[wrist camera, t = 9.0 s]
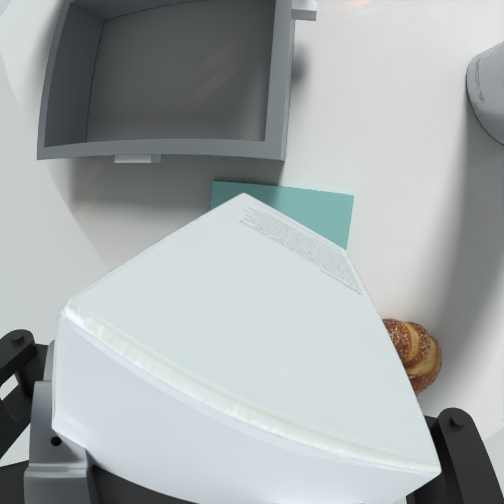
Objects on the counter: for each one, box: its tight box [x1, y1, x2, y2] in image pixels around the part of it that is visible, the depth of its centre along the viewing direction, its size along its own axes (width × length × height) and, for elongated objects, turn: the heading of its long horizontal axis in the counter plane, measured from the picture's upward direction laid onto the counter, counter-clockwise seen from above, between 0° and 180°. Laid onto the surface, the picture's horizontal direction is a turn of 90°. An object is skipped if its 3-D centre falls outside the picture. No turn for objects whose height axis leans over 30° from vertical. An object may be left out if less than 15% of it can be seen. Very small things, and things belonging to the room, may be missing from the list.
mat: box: [210, 181, 354, 250], centre depth 24 cm, size 11×10×1 cm
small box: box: [52, 193, 441, 504], centre depth 10 cm, size 8×6×13 cm
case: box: [37, 0, 317, 163], centre depth 14 cm, size 22×19×14 cm
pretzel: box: [382, 318, 442, 397], centre depth 24 cm, size 12×11×4 cm
